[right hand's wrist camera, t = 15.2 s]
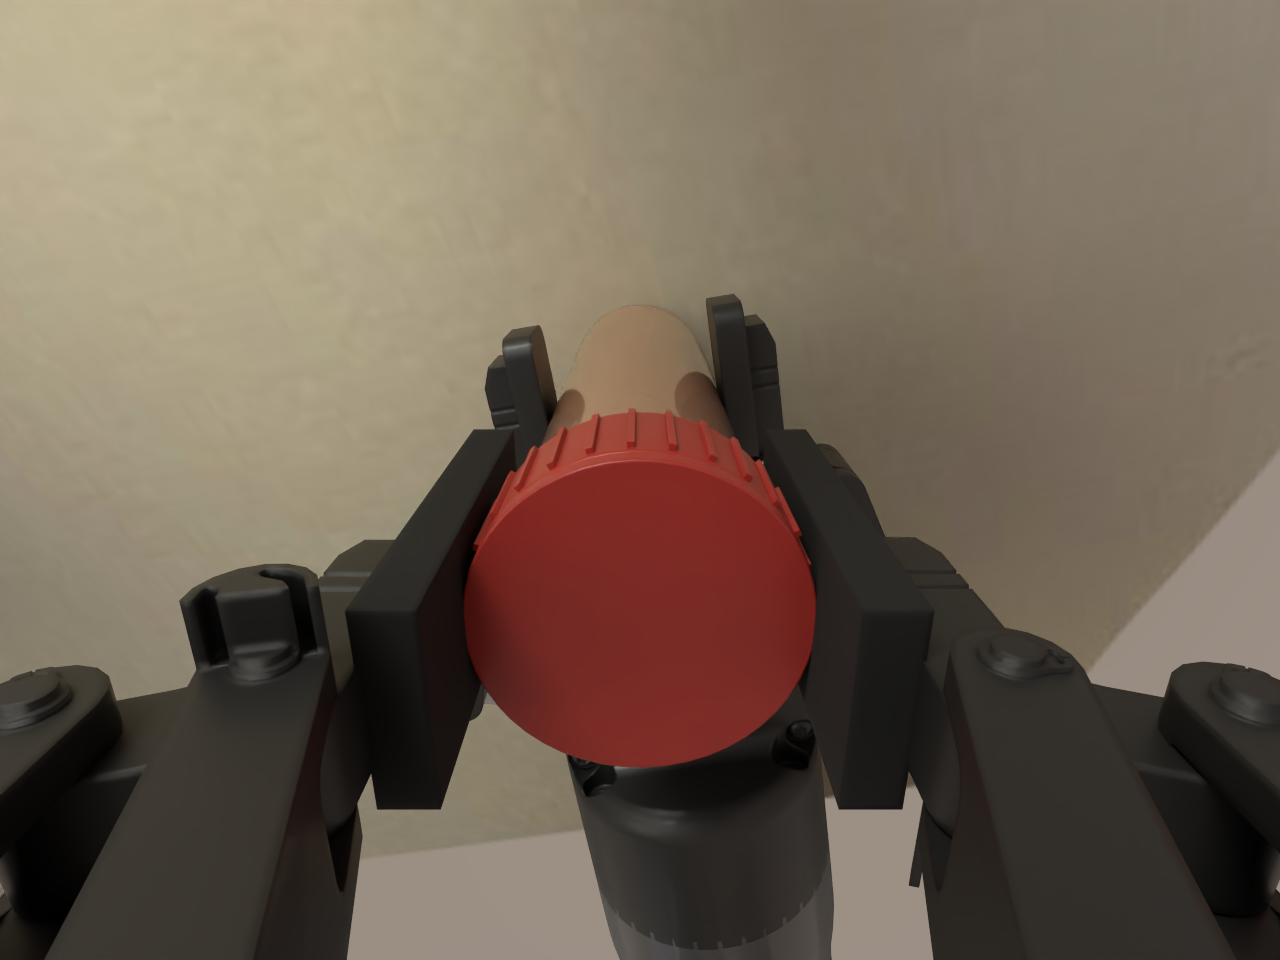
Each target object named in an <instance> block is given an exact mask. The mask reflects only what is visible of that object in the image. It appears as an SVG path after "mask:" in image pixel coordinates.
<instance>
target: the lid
mask: <svg viewBox="0 0 1280 960" xmlns="http://www.w3.org/2000/svg"><path fill="white" fill-rule="evenodd" d="M800 536H802V533H801V531H800V529H799V527H798V525H797V523H796V521H795V519H794V517H793V515H792V513H791V510H790V508H789V506H788V504H787V502H786V500H785V498H784V496H783V494H782V492H781V490H780V488H779V487H776V488H774V486H773V484H772V482H771V479H770V477H769V475H768V473H767V471H766V469H765V466H764V464H763V463H762V462H761V461H760V460H757V461H756V462H755V461H754V460H753V459H752V458H751V457H750V456H749V455H748V454H747V453H746V452H745V451H744V450H742V448H741V446H740V443H739V441H738V440H737V439H736V438H735V437H732V438H731V439H728V438H726V437H725V436H723V435H722V434H720V433H718V432H717V431H715V430H713V429H711V428H709V426H708V423H707V422H706V421H703V420H701V421H700V423H697V422H694V421H691V420H688V419H684V418H681V417H678V416H673V412H672V411H668V410H666V411H665V414H660V413H647V412H636V409H635V408H631V409H628V413H620V414H612V415H608V416H603V417H600V415H599V413H598V414H594V415H592V418H591V420H589V421H586V422H583V423H580V424H578V425H575V426H573V427H571V428H569V429H566V427H565V426H563V427H561V428H559V430H558V432H557V435H556V436H555V437H553V438H552V439H550V440H549V441H547V442H546V443H545V444H543V445H542V446H540V447H539V448H537V447H536V446H534V447H532V448H531V449H530V451H529V453H528V456H527V458H526V460H525V462H524V463H523V464H522V466H521V467H520V468H519V469H518V470H517V472H516V473H515V472H513V471H512V470H511V471H510V473H509V474H508V476H507V478H506V480H505V482H504V484H503V486H502V488H501V491H500V493H499V495H498V497H497V499H495V500H494V502H493V504H492V507H491V509H490V511H489V513H488V515H487V517H486V519H485V521H484V523H483V525H482V527H481V529H480V531H479V534H478V536H477V538H476V540H475V542H474V544H473V547H472V550H474V551H476V554H475V556H474V559H473V561H472V564H471V566H470V568H469V571H468V575H467V579H466V583H465V587H464V594H463V608H464V620H465V631H466V640H467V649H468V653H469V656H470V659H471V662H472V664H473V667H474V670H475V672H476V674H477V675H478V677H479V679H480V681H481V683H482V685H483V687H484V688H485V690H486V691H487V692H488V694H489V695H490V696H491V698H492V699H493V701H494V702H495V703H496V705H497V706H498V707H499V708H500V709H501V710H502V711H503V712H504V713H505V714H506V715H507V716H508V717H509V718H510V719H511V720H512V721H513V722H515V723H516V724H517V725H518V726H519V727H521V728H522V729H523V730H524V731H525V732H527V733H528V734H530V735H532V736H533V737H535V738H536V739H538V740H539V741H541V742H542V743H544V744H546V745H548V746H550V747H552V748H555V749H557V750H559V751H561V752H563V753H566V754H569V755H571V756H574V757H577V758H580V759H583V760H587V761H591V762H595V763H599V764H604V765H611V766H619V767H638V768H647V767H661V766H669V765H675V764H680V763H686V762H689V761H693V760H696V759H700V758H703V757H706V756H709V755H711V754H714V753H716V752H719V751H721V750H723V749H726V748H728V747H730V746H731V745H733V744H735V743H737V742H738V741H740V740H742V739H744V738H745V737H747V736H748V735H750V734H751V733H752V732H754V731H755V730H757V729H758V728H759V727H761V726H762V725H763V724H764V723H765V722H766V721H767V720H768V719H770V718H771V717H772V716H773V715H774V714H775V713H776V712H777V711H778V710H779V709H780V707H781V706H782V705H783V704H784V703H785V701H786V700H787V699H788V698H789V697H790V695H791V693H792V692H793V690H794V689H795V687H796V686H797V684H798V683H799V681H800V679H801V677H802V675H803V673H804V670H805V668H806V666H807V664H808V662H809V659H810V655H811V652H812V645H813V636H814V626H815V615H816V603H817V597H816V590H815V584H814V579H813V576H812V573H811V570H810V567H811V563H810V561H809V559H808V556H807V554H806V552H805V550H804V548H803V546H802V544H801V541H800V539H799V537H800Z"/></svg>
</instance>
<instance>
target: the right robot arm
mask: <svg viewBox="0 0 1280 960" xmlns="http://www.w3.org/2000/svg"><path fill="white" fill-rule="evenodd" d="M764 466H765V469H766V471H767V473H768V475H769V477H770V479H771V482H772V484H773V486H774V488H776V487H779V488H780V490H781V492H782V494H783V496H784V498H785V500H786V502H787V504H788V506H789V508H790V510H791V513H792V515H793V517H794V519H795V521H796V523H797V525H798V527H799V529H800V531H801V533H802V536H800V537H799V539H800V541H801V544H802V546H803V548H804V550H805V552H806V554H807V556H808V559H809V561H810V563H811V567H810V570H811V573H812V576H813V579H814V584H815V590H816V597H817V603H816V615H815V626H814V636H813V645H812V652H811V655H810V659H809V662H808V664H807V666H806V668H805V670H804V673H803V675H802V677H801V679H800V681H799V683H798V685H799V688H800V691H801V694H802V697H803V700H804V703H805V706H806V710H807V713H808V716H809V719H810V722H811V725H812V728H813V731H814V734H815V737H816V740H817V743H818V746H819V750H820V753H821V756H822V759H823V762H824V765H825V768H826V771H827V774H828V777H829V780H830V783H831V787H832V790H833V793H834V796H835V799H836V802H837V805H838V808H839V809H902V808H903V802H904V796H905V790H906V784H907V778H908V772H910V774H911V776H912V778H913V780H914V783H915V785H916V787H917V789H918V791H919V793H920V795H921V798H922V800H923V805H922V811H921V817H920V822H919V828H918V834H917V839H916V845H915V851H914V857H913V862H912V868H911V874H910V881H909V886H914V887H919V885H920V880H921V874H922V873H923V881H924V889H925V897H926V904H927V912H928V920H929V928H930V935H931V943H932V951H933V959H934V960H1280V893H1279V892H1278V891H1277V890H1276V887H1277V885H1278V883H1279V880H1280V680H1278V679H1276V678H1273V677H1271V676H1270V675H1269V674H1267V673H1265V672H1263V671H1259V670H1256V669H1253V668H1248V669H1246V668H1245V666H1241V665H1235V664H1221V663H1212V662H1197V663H1190V664H1183V665H1181V666H1180V667H1179V668H1177V669H1176V670H1174V671H1173V672H1172V673H1171V676H1170V680H1169V683H1168V686H1167V690H1166V693H1165V696H1164V697H1158V696H1153V695H1147V694H1142V693H1136V692H1131V691H1126V690H1120V689H1115V688H1110V687H1105V686H1100V685H1096V684H1092V683H1091V682H1090V680H1089V678H1088V676H1087V674H1086V672H1085V670H1084V669H1083V667H1082V666H1081V665H1080V664H1079V663H1078V662H1077V660H1076V659H1075V658H1074V657H1073V656H1072V655H1071V654H1070V653H1068V652H1067V651H1065V650H1063V649H1062V648H1060V647H1059V646H1057V645H1056V644H1054V643H1052V642H1050V641H1048V640H1045V639H1043V638H1040V637H1038V636H1035V635H1033V634H1030V633H1027V632H1023V631H1018V630H1013V629H1008V628H1005V627H1004V626H1003V625H1002V624H1001V623H1000V621H999V620H998V619H997V618H996V617H995V616H994V614H993V613H992V612H991V611H990V610H989V608H988V607H987V606H986V605H985V604H984V603H983V601H982V600H981V599H980V598H979V597H978V595H977V594H976V593H975V592H974V591H973V590H972V589H969V585H968V584H967V582H966V581H965V580H964V579H963V578H962V577H961V575H960V574H956V569H955V568H954V567H953V566H952V565H951V564H950V562H949V561H948V560H947V559H946V558H945V556H944V555H943V554H942V553H941V552H939V551H938V550H936V549H934V548H932V547H931V546H929V545H927V544H925V543H924V542H922V541H920V540H918V539H917V538H915V537H882V536H881V535H880V533H879V532H878V530H877V529H876V527H875V526H874V525H873V523H872V522H871V520H870V519H869V518H868V516H867V515H866V513H865V512H864V511H863V509H862V508H861V506H860V505H859V504H858V502H857V501H856V499H855V498H854V497H853V495H852V494H851V492H850V491H849V490H848V488H847V487H846V485H845V484H844V483H843V481H842V480H841V478H840V477H839V476H838V474H837V473H836V471H835V470H834V469H833V467H832V466H831V464H830V463H829V461H828V460H827V459H826V457H825V456H824V454H823V453H822V452H821V450H820V449H819V447H818V446H817V445H816V443H815V442H814V440H813V439H812V438H811V436H810V435H809V433H808V432H807V431H806V430H766V433H765V449H764ZM511 470H512V471H513V472H515V473H516V456H515V440H514V430H473V431H472V433H471V434H470V436H469V437H468V438H467V440H466V441H465V443H464V444H463V445H462V447H461V448H460V450H459V451H458V452H457V454H456V455H455V457H454V458H453V459H452V461H451V462H450V464H449V465H448V466H447V468H446V469H445V471H444V472H443V473H442V475H441V476H440V478H439V479H438V480H437V482H436V483H435V485H434V486H433V488H432V489H431V490H430V492H429V493H428V495H427V496H426V497H425V499H424V500H423V502H422V503H421V504H420V506H419V507H418V509H417V510H416V511H415V513H414V514H413V516H412V517H411V518H410V520H409V521H408V523H407V524H406V525H405V527H404V528H403V530H402V531H401V532H400V534H399V535H398V537H397V538H396V539H395V540H364V541H362V542H361V543H359V544H357V545H355V546H354V547H352V548H350V549H348V550H347V551H345V552H343V553H342V554H340V555H338V557H337V558H336V559H335V560H334V561H333V563H332V564H331V565H330V566H329V567H328V569H327V570H326V571H325V572H324V577H320V578H319V579H318V577H317V575H316V574H315V573H313V572H312V571H311V570H309V569H308V568H306V567H301V566H296V565H291V564H263V565H258V566H252V567H246V568H241V569H237V570H234V571H231V572H228V573H225V574H222V575H219V576H216V577H213V578H211V579H209V580H207V581H205V582H203V583H202V584H200V585H198V586H196V587H194V588H192V589H191V590H190V591H189V592H188V593H187V594H186V595H185V596H184V597H183V598H182V599H181V600H180V601H179V602H180V606H181V610H182V614H183V618H184V621H185V625H186V629H187V633H188V637H189V641H190V645H191V649H192V653H193V657H194V661H195V665H196V669H197V670H196V672H195V674H194V676H193V677H192V679H191V681H190V683H189V685H188V687H185V688H181V689H177V690H172V691H167V692H162V693H156V694H151V695H146V696H140V697H135V698H129V699H124V700H119V701H116V698H115V695H114V691H113V688H112V685H111V682H110V678H109V676H108V675H107V674H105V673H104V672H102V671H101V670H100V669H98V668H94V667H87V666H79V665H74V666H65V667H55V668H54V667H48V668H43V669H38V670H36V671H35V672H33V673H32V671H30V672H27V673H24V674H20V675H17V676H15V677H13V678H11V679H10V680H9V681H6V682H4V683H2V684H0V882H1V884H2V887H3V889H4V891H5V892H4V894H3V895H2V896H1V897H0V960H347V953H348V945H349V937H350V929H351V922H352V914H353V906H354V898H355V891H356V883H357V875H358V867H359V860H360V852H361V844H362V829H361V823H360V817H359V811H358V805H357V803H358V800H359V798H360V796H361V794H362V792H363V790H364V788H365V785H366V783H367V781H368V779H369V777H370V775H371V774H372V781H373V787H374V793H375V799H376V805H377V809H441V807H442V804H443V801H444V797H445V794H446V791H447V788H448V785H449V782H450V779H451V776H452V773H453V770H454V767H455V764H456V761H457V757H458V754H459V751H460V748H461V745H462V742H463V739H464V736H465V733H466V730H467V727H468V724H469V720H470V717H471V714H472V711H473V708H474V705H475V702H476V699H477V696H478V693H479V690H480V687H481V684H482V683H481V681H480V679H479V677H478V675H477V674H476V672H475V670H474V667H473V664H472V662H471V659H470V656H469V653H468V649H467V640H466V631H465V620H464V608H463V594H464V587H465V583H466V579H467V575H468V571H469V568H470V566H471V564H472V561H473V559H474V556H475V554H476V551H474V550H472V547H473V544H474V542H475V540H476V538H477V536H478V534H479V531H480V529H481V527H482V525H483V523H484V521H485V519H486V517H487V515H488V513H489V511H490V509H491V507H492V504H493V502H494V500H495V499H497V497H498V495H499V493H500V491H501V488H502V486H503V484H504V482H505V480H506V478H507V476H508V474H509V473H510V471H511Z"/></svg>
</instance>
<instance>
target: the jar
mask: <svg viewBox="0 0 1280 960" xmlns="http://www.w3.org/2000/svg"><path fill="white" fill-rule="evenodd" d="M631 408H635V409H636V412H647V413H660V414H665V411H666V410H668V411H672V412H673V416H678V417H681V418H684V419H688V420H691V421H694V422H697V423H700V421H701V420H703V421H706V422H707V423H708V426H709V428H711V429H713V430H715V431H717V432H718V433H720V434H722V435H723V436H725V437H726V438H728V439H731V438H732V437H735V438H736V436H735V434H734V431H733V429H732V426H731V424H730V421H729V419H728V416H727V414H726V411H725V409H724V406H723V404H722V401H721V399H720V396H719V394H718V391H717V389H716V386H715V384H714V381H713V379H712V376H711V374H710V371H709V369H708V366H707V364H706V361H705V359H704V356H703V354H702V351H701V349H700V346H699V344H698V342H697V340H696V338H695V336H694V335H693V333H692V332H691V330H690V329H689V328H688V327H687V325H686V324H685V323H683V322H682V321H681V320H680V319H679V318H677V317H676V316H674V315H673V314H671V313H669V312H667V311H665V310H663V309H660V308H657V307H652V306H643V305H636V306H628V307H623V308H620V309H617V310H615V311H613V312H611V313H609V314H607V315H605V316H604V317H602V318H601V319H600V320H599V321H598V322H596V323H595V324H594V325H593V326H592V328H591V329H590V330H589V331H588V333H587V334H586V336H585V338H584V339H583V342H582V344H581V346H580V348H579V351H578V353H577V356H576V358H575V361H574V363H573V366H572V368H571V371H570V373H569V376H568V378H567V381H566V383H565V386H564V388H563V391H562V393H561V396H560V398H559V401H558V403H557V406H556V408H555V411H554V413H553V416H552V418H551V421H550V423H549V426H548V428H547V431H546V433H545V436H544V438H543V441H542V443H541V446H542V445H543V444H545V443H546V442H547V441H549V440H550V439H552V438H553V437H555V436H556V435H557V432H558V430H559V428H561V427H563V426H565V427H566V429H569V428H571V427H573V426H575V425H578V424H580V423H583V422H586V421H589V420H591V418H592V415H594V414H598V413H599V415H600V417H603V416H608V415H612V414H620V413H628V409H631Z"/></svg>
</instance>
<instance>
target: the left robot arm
mask: <svg viewBox="0 0 1280 960" xmlns="http://www.w3.org/2000/svg"><path fill="white" fill-rule="evenodd" d="M706 307H707V316H708V324H709V332H710V340H711V348H712V356H713V364H714V371H715V379H716V387H717V391H718V394H719V396H720V399H721V401H722V404H723V406H724V409H725V411H726V414H727V416H728V419H729V421H730V424H731V426H732V429H733V431H734V434H735V436H736V439H737V440H738V441H739V443H740V446H741V448H742V450H744V451H745V452H746V453H747V454H748V455H749V456H750V457H751V458H752V459H753V460H754V461H755V462H756V461H757V460H760V461H761V462H762V463H763V464H764V449H765V433H766V430H784V428H783V418H782V407H781V397H780V386H779V376H778V368H777V355H776V344H775V342H774V340H773V338H772V336H771V334H770V332H769V330H768V328H767V327H766V325H765V323H764V322H763V321H762V320H761V319H760V318H759V317H758V316H757V315H750V316H744V313H743V308H742V304H741V301H740V300H739V299H738V298H737V297H736V296H735V295H734V294H730V295H724V296H718V297H712V298H706ZM502 348H503V355H500V356H498V357H497V358H496V359H495V360H494V361H493V363H492V364H491V365H490V366H489V367H488V372H487V378H486V385H485V392H486V396H487V400H488V404H489V408H490V411H491V416H492V420H493V425H494V427H495V430H514V440H515V456H516V472H517V470H518V469H519V468H520V467H521V466H522V464H523V463H524V462H525V460H526V458H527V456H528V453H529V451H530V449H531V448H532V447H534V446H536V447H537V448H539V447H540V446H541V443H542V441H543V438H544V436H545V433H546V431H547V428H548V426H549V423H550V421H551V418H552V416H553V413H554V411H555V408H556V406H557V403H558V402H557V397H556V392H555V388H554V383H553V378H552V373H551V369H550V364H549V359H548V354H547V349H546V345H545V340H544V336H543V332H542V329H541V327H540V326H539V325H537V326H531V327H525V328H519V329H513V330H511V331H510V332H509V333H508V334H507V335H506V336H505V338H504V339H503V343H502ZM816 445H817V446H818V447H819V449H820V450H821V452H822V453H823V454H824V456H825V457H826V459H827V460H828V461H829V463H830V464H831V466H832V467H833V469H834V470H835V471H836V473H837V474H838V476H839V477H840V478H841V480H842V481H843V483H844V484H845V485H846V487H847V488H848V490H849V491H850V492H851V494H852V495H853V497H854V498H855V499H856V501H857V502H858V504H859V505H860V506H861V508H862V509H863V511H864V512H865V513H866V515H867V516H868V518H869V519H870V520H871V522H872V523H873V525H874V526H875V527H876V529H877V530H878V532H879V533H880V535H881V536H882V537H885V535H884V533H883V530H882V528H881V525H880V523H879V520H878V518H877V516H876V513H875V511H874V508H873V506H872V503H871V501H870V499H869V496H868V494H867V491H866V489H865V487H864V485H863V483H862V482H861V481H860V479H859V478H858V477H857V475H856V474H855V473H854V471H853V470H852V469H851V468H850V466H849V465H848V464H847V462H846V461H845V460H844V459H843V457H842V456H841V455H840V454H839V452H838V451H837V450H836V449H835V448H834V447H832V446H830V445H827V444H816ZM484 703H488V704H496V703H495V702H494V701H493V699H492V698H491V696H490V695H489V694H488V692H487V691H486V690H485V688H484V687H483V685H482V684H481V687H480V690H479V693H478V696H477V699H476V702H475V705H474V708H473V711H472V714H471V717H470V720H473V719H475V718H476V717H478V715H479V714H480V713H481V711H482V708H483V705H484ZM470 720H469V721H470ZM566 756H567V760H568V765H569V769H570V773H571V777H572V781H573V785H574V789H575V793H576V798H577V802H578V806H579V810H580V814H581V818H582V822H583V826H584V830H585V834H586V838H587V842H588V846H589V850H590V854H591V858H592V862H593V866H594V870H595V874H596V878H597V882H598V886H599V891H600V895H601V899H602V903H603V907H604V911H605V915H606V919H607V922H608V926H609V930H610V934H611V937H612V940H613V943H614V946H615V949H616V951H617V953H618V956H619V958H620V960H832V959H831V939H832V931H833V914H834V899H833V886H832V874H831V863H830V852H829V841H828V832H827V821H826V810H825V799H824V788H823V777H822V767H821V756H820V750H819V746H818V743H817V740H816V737H815V734H814V731H813V728H812V725H811V722H810V719H809V716H808V713H807V710H806V706H805V703H804V700H803V697H802V694H801V691H800V688H799V685H798V684H797V686H796V687H795V689H794V690H793V692H792V693H791V695H790V697H789V698H788V699H787V700H786V701H785V703H784V704H783V705H782V706H781V707H780V709H779V710H778V711H777V712H776V713H775V714H774V715H773V716H772V717H771V718H770V719H768V720H767V721H766V722H765V723H764V724H763V725H762V726H761V727H759V728H758V729H757V730H755V731H754V732H752V733H751V734H750V735H748V736H747V737H745V738H744V739H742V740H740V741H738V742H737V743H735V744H733V745H731V746H730V747H728V748H726V749H723V750H721V751H719V752H716V753H714V754H711V755H709V756H706V757H703V758H700V759H696V760H693V761H689V762H686V763H680V764H675V765H669V766H661V767H647V768H638V767H619V766H611V765H604V764H599V763H595V762H591V761H587V760H583V759H580V758H577V757H574V756H571V755H569V754H566Z"/></svg>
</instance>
